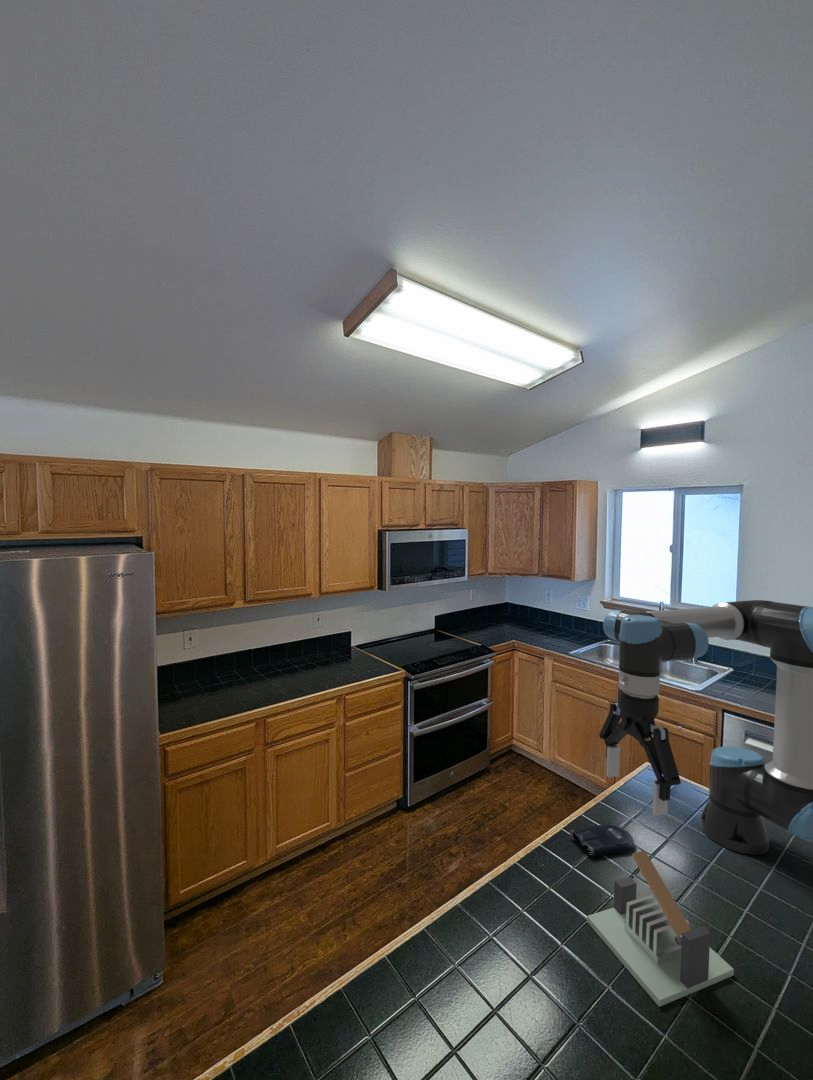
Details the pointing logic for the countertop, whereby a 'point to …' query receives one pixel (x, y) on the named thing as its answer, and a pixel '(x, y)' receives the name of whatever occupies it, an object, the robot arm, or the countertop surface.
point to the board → (658, 981)
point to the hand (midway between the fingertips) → (634, 793)
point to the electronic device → (603, 839)
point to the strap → (662, 895)
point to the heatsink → (651, 929)
